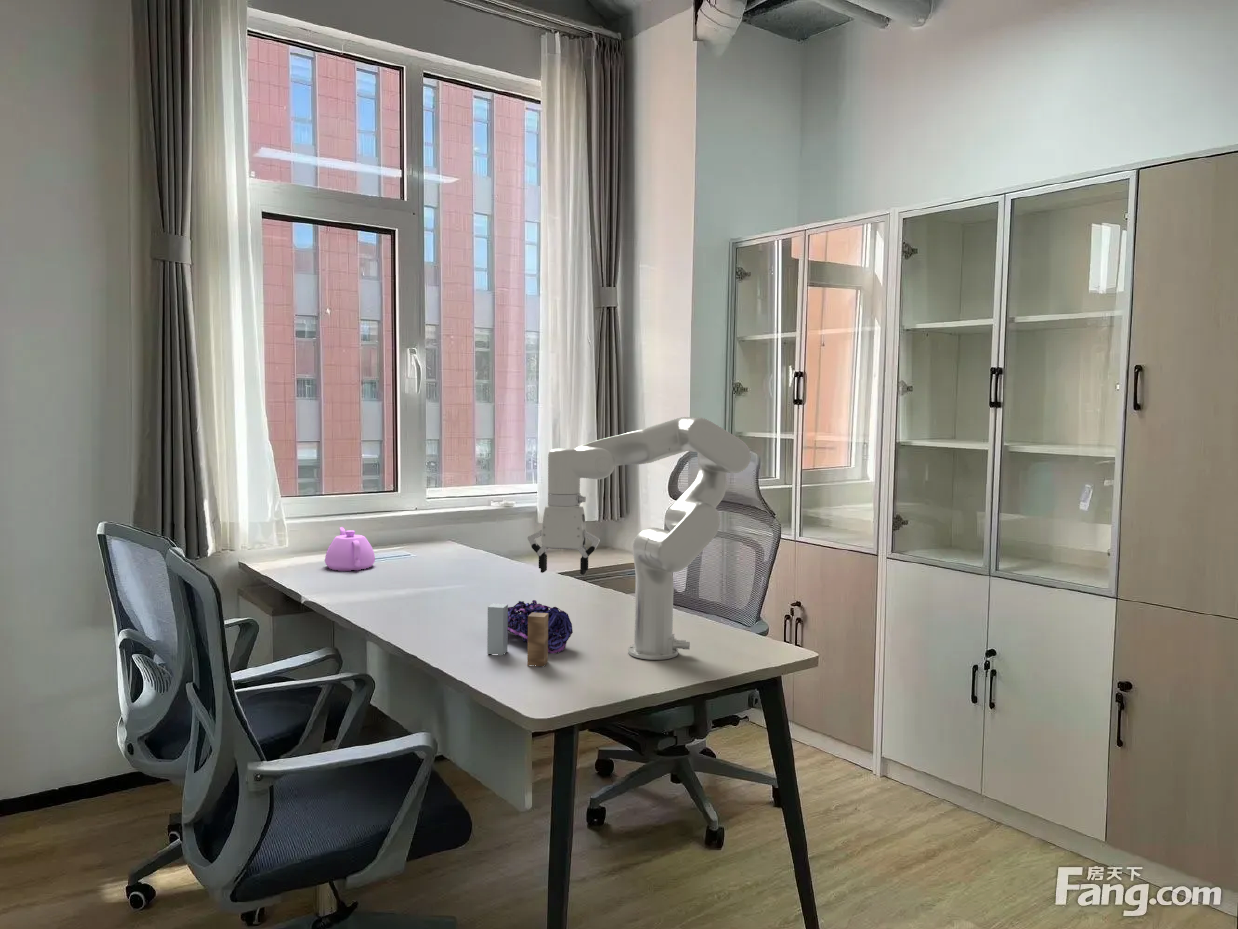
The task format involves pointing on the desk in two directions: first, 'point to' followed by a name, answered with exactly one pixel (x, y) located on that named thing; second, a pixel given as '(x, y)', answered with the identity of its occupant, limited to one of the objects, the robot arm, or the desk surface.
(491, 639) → the grey block
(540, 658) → the walnut block
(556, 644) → the decorative ornament
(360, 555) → the teapot
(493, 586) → the desk surface
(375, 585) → the desk surface
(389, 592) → the desk surface
